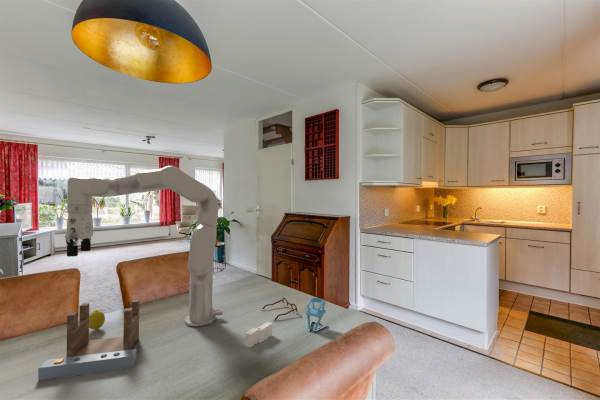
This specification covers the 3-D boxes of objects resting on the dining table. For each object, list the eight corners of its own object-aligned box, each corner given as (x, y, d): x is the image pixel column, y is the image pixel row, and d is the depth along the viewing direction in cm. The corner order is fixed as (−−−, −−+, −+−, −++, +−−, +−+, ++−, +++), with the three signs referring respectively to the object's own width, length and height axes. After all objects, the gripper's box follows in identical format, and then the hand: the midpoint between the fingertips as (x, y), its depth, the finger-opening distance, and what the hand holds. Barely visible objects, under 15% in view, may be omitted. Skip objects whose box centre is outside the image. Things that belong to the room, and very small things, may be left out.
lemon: (95, 334, 103) (95, 313, 103) (83, 332, 104) (83, 312, 104) (108, 327, 109) (108, 308, 108) (96, 326, 110) (97, 306, 110)
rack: (138, 339, 101) (139, 299, 101) (129, 354, 91) (130, 310, 91) (82, 345, 96) (82, 303, 96) (66, 362, 86) (67, 315, 86)
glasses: (298, 315, 125) (298, 305, 125) (273, 322, 118) (273, 311, 118) (283, 305, 136) (284, 296, 136) (260, 311, 129) (260, 301, 128)
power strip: (136, 360, 88) (136, 347, 88) (132, 368, 84) (132, 354, 84) (46, 372, 81) (46, 358, 81) (38, 381, 78) (38, 366, 78)
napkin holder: (273, 331, 110) (273, 317, 110) (280, 346, 99) (280, 331, 99) (235, 337, 105) (236, 322, 105) (238, 353, 94) (239, 337, 94)
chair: (302, 330, 111) (303, 301, 111) (311, 321, 118) (312, 294, 118) (320, 334, 107) (320, 305, 107) (327, 326, 115) (328, 298, 114)
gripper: (79, 210, 96) (79, 258, 97) (101, 208, 113) (100, 248, 113) (54, 210, 94) (53, 259, 95) (80, 208, 111) (79, 249, 111)
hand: (79, 253), depth 104 cm, fingers open, 9 cm apart
